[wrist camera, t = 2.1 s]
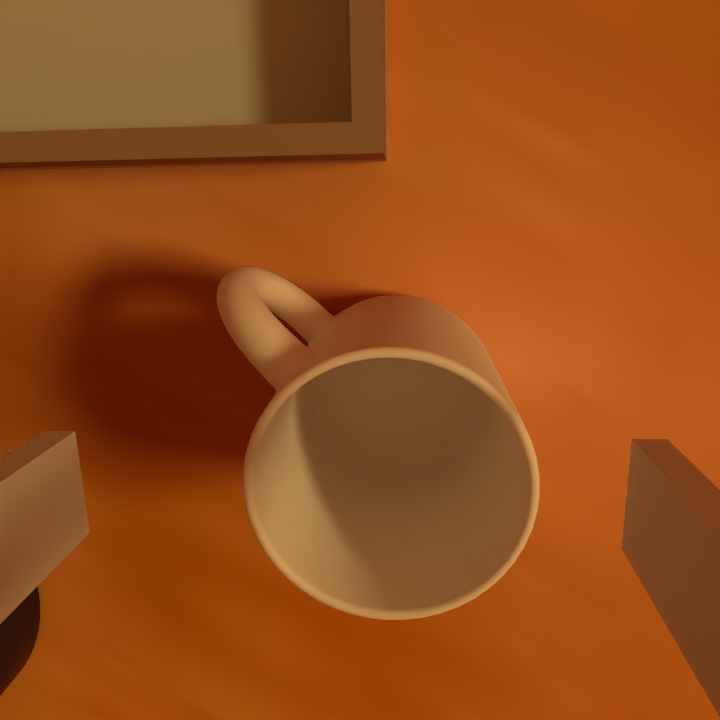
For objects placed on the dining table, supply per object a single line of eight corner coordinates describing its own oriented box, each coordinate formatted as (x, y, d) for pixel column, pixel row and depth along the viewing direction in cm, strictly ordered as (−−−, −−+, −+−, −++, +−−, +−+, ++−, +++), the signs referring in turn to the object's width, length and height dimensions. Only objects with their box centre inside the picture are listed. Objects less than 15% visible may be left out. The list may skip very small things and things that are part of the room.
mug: (201, 323, 27) (82, 396, 17) (332, 183, 25) (284, 174, 16) (394, 507, 29) (386, 671, 19) (532, 387, 27) (605, 499, 17)
